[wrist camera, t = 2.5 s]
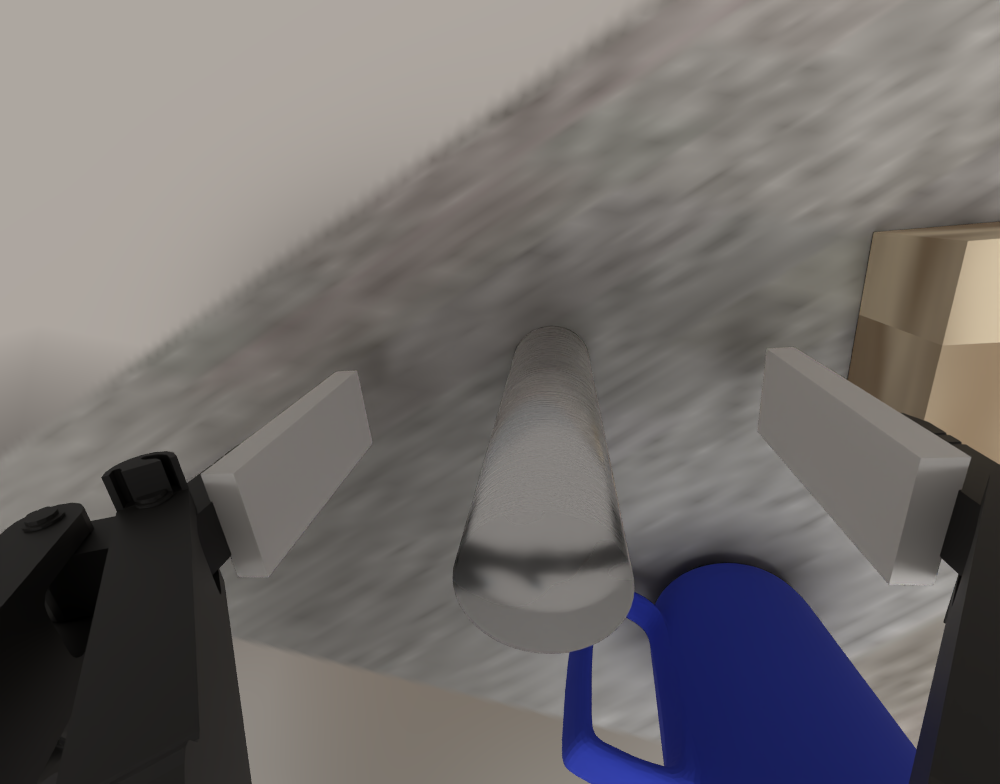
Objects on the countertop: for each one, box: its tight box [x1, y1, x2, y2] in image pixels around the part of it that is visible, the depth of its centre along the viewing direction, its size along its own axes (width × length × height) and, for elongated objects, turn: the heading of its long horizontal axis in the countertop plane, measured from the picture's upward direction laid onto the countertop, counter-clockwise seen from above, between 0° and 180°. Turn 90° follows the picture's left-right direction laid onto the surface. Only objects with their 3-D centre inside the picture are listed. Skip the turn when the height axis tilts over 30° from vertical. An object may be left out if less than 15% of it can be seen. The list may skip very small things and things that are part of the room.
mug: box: [562, 563, 916, 784], centre depth 18 cm, size 8×12×10 cm
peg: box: [453, 326, 635, 654], centre depth 13 cm, size 3×3×12 cm
